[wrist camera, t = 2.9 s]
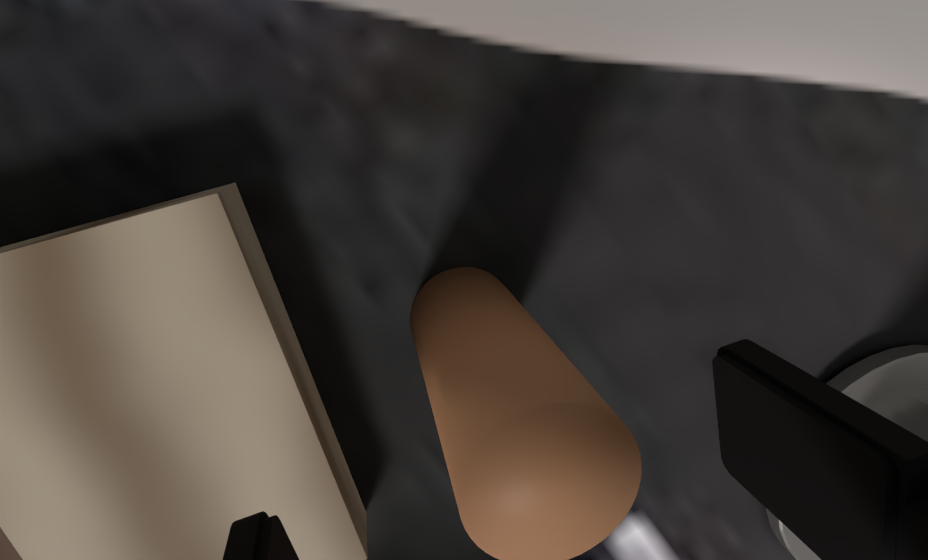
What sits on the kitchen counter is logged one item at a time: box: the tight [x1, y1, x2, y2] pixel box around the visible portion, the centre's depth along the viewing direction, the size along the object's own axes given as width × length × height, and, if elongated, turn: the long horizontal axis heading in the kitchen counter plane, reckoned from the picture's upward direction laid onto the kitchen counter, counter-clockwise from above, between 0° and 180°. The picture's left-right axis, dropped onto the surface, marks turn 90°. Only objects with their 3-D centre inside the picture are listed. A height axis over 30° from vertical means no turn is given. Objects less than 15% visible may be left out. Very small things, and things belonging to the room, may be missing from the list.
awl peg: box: [410, 267, 642, 560], centre depth 16 cm, size 4×4×10 cm
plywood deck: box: [0, 183, 367, 560], centre depth 18 cm, size 20×14×2 cm
